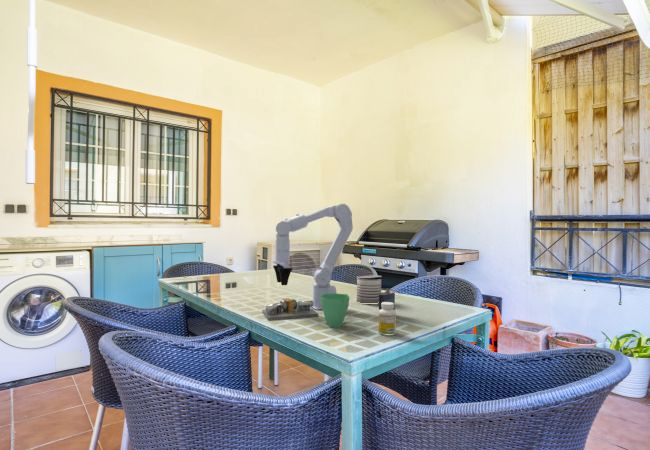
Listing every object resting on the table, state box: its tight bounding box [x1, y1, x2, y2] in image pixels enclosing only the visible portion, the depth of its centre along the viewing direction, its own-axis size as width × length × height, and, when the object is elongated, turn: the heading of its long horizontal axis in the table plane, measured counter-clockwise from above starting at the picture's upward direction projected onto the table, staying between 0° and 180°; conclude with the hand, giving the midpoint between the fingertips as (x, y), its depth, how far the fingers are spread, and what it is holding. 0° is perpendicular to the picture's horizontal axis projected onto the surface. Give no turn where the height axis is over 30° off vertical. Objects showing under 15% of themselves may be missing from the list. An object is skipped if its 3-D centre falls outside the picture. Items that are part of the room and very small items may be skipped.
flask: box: [378, 288, 396, 311], centre depth 136 cm, size 9×3×11 cm, turn 138°
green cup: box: [321, 293, 350, 328], centre depth 125 cm, size 15×10×10 cm
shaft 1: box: [265, 302, 281, 315], centre depth 134 cm, size 6×4×3 cm, turn 145°
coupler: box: [279, 297, 298, 312], centre depth 138 cm, size 6×4×4 cm
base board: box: [261, 307, 320, 321], centre depth 137 cm, size 19×12×1 cm, turn 110°
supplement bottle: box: [378, 302, 397, 335], centre depth 115 cm, size 5×5×10 cm
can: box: [355, 275, 382, 304], centre depth 161 cm, size 11×11×12 cm
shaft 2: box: [296, 300, 313, 311], centre depth 141 cm, size 6×4×3 cm, turn 110°
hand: (282, 283), depth 148 cm, fingers open, 7 cm apart
